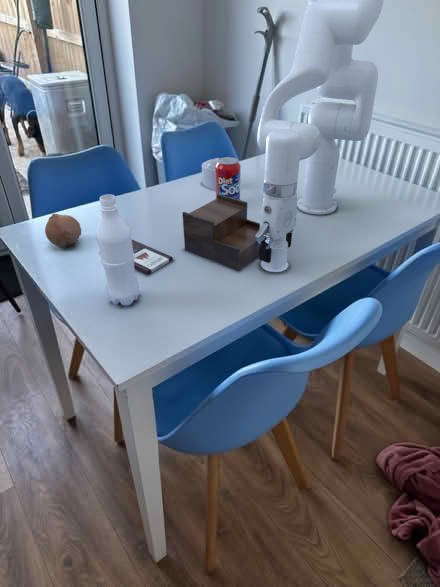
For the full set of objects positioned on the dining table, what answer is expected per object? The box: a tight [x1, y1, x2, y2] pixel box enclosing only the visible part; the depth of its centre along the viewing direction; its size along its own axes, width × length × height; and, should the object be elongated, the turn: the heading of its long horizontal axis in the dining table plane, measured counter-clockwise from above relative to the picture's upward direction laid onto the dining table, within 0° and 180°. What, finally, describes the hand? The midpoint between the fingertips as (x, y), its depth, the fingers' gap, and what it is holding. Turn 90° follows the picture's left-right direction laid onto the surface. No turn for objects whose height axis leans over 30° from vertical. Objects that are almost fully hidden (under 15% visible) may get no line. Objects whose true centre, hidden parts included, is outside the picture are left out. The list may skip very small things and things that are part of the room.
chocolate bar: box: [132, 239, 173, 276], centre depth 113 cm, size 9×1×18 cm
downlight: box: [260, 233, 289, 273], centre depth 106 cm, size 8×7×10 cm
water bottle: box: [95, 193, 140, 307], centre depth 91 cm, size 7×7×25 cm
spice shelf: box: [181, 194, 267, 272], centre depth 113 cm, size 15×18×11 cm
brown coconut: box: [44, 213, 82, 248], centre depth 117 cm, size 10×9×10 cm
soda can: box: [215, 156, 242, 200], centre depth 135 cm, size 8×8×15 cm
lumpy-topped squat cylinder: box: [201, 157, 221, 191], centre depth 152 cm, size 10×13×9 cm
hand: (275, 253), depth 107 cm, fingers open, 9 cm apart
